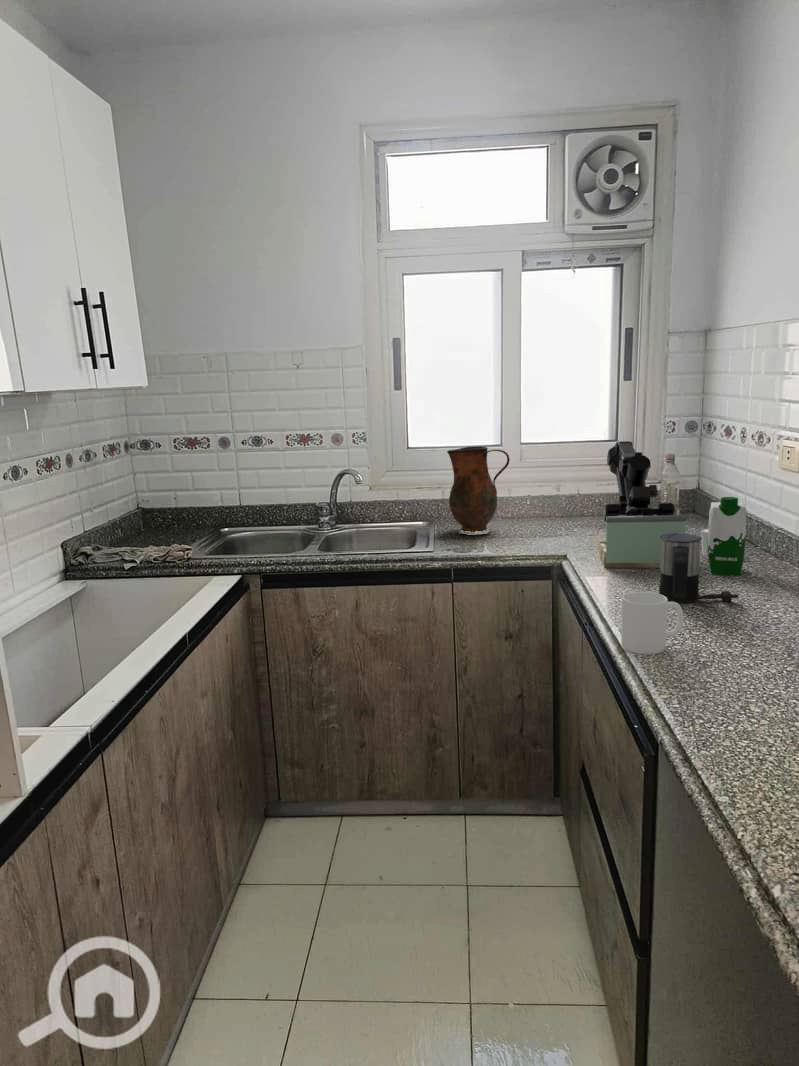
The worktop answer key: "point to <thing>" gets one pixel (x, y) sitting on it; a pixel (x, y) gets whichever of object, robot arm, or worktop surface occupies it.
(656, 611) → the cup
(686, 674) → the worktop surface
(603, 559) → the beige open tray
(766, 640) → the worktop surface
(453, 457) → the pitcher
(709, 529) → the milk carton
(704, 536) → the shot glass
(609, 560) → the sage green panel
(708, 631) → the worktop surface
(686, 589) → the milk frother
